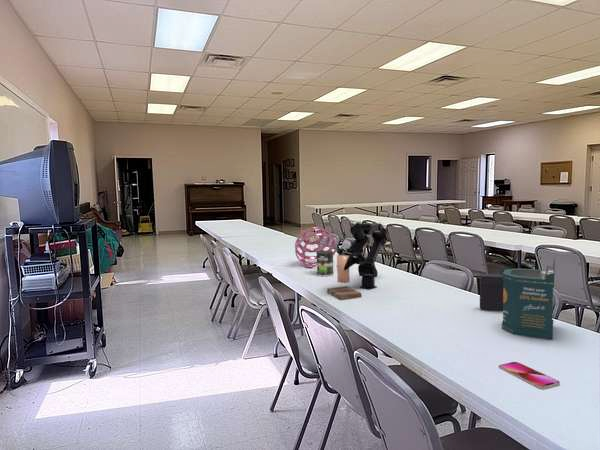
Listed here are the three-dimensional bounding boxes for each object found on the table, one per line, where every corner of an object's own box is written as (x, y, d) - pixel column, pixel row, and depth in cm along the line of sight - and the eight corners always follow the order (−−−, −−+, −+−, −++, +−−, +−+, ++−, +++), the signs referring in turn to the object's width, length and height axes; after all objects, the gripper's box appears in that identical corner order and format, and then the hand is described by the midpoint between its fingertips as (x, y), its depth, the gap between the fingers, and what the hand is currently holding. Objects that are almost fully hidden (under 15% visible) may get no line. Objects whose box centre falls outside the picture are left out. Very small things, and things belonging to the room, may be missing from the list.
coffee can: (330, 276, 247) (330, 253, 245) (314, 275, 250) (313, 253, 249) (335, 273, 256) (335, 250, 255) (320, 272, 260) (319, 250, 258)
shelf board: (327, 292, 212) (327, 288, 212) (346, 289, 216) (346, 286, 215) (340, 300, 197) (340, 296, 197) (361, 297, 201) (361, 293, 201)
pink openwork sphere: (336, 241, 257) (327, 214, 277) (293, 253, 258) (287, 225, 279) (343, 270, 275) (335, 243, 296) (303, 281, 276) (297, 253, 297)
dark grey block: (507, 309, 175) (508, 274, 173) (509, 312, 171) (509, 277, 169) (479, 307, 179) (479, 273, 177) (480, 310, 175) (480, 275, 173)
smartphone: (515, 361, 125) (562, 382, 111) (515, 364, 125) (561, 385, 111) (496, 365, 123) (541, 387, 108) (496, 368, 123) (541, 391, 108)
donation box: (552, 340, 141) (554, 259, 138) (500, 332, 149) (501, 256, 147) (553, 325, 154) (555, 251, 152) (505, 319, 163) (506, 249, 160)
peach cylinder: (339, 279, 210) (339, 254, 208) (351, 280, 207) (350, 254, 206) (335, 282, 204) (335, 256, 203) (347, 283, 202) (346, 257, 200)
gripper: (379, 256, 203) (361, 282, 199) (357, 251, 220) (340, 275, 216) (366, 242, 199) (347, 268, 195) (344, 238, 215) (327, 262, 211)
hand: (340, 268), depth 204 cm, fingers closed on peach cylinder, 6 cm apart
